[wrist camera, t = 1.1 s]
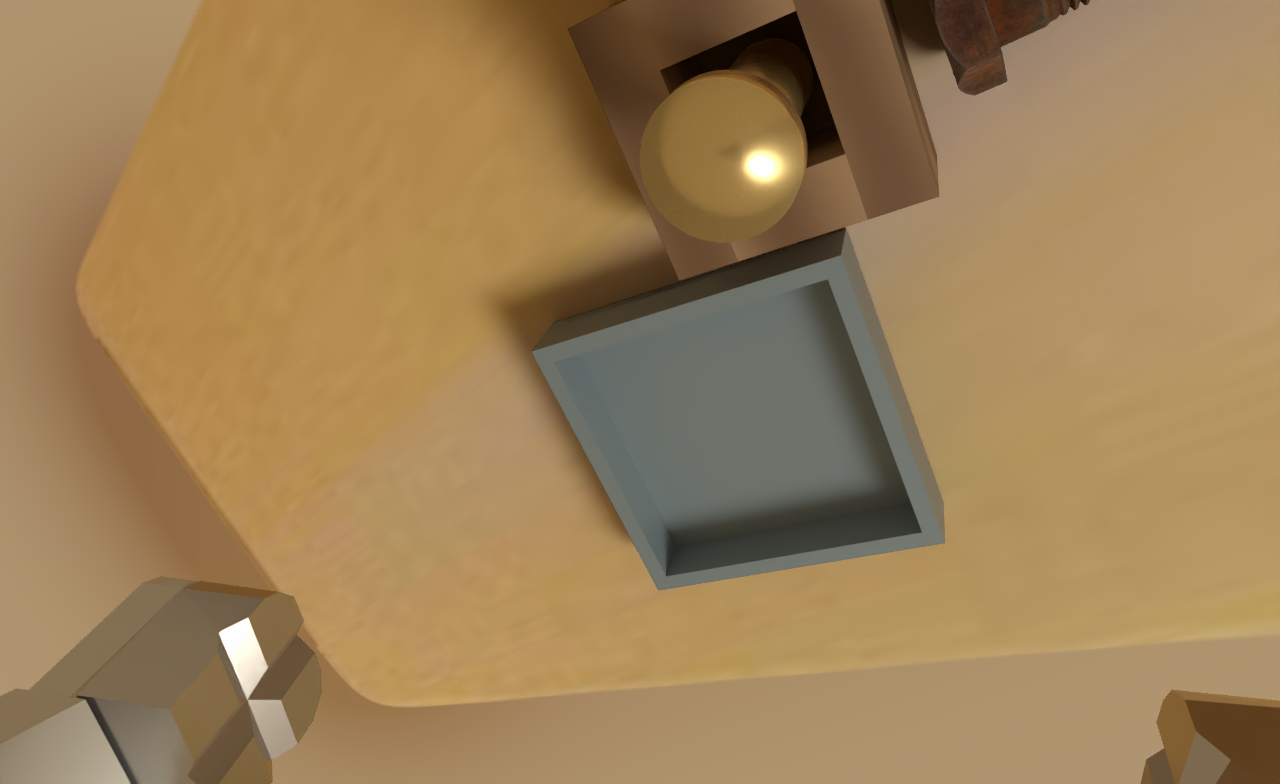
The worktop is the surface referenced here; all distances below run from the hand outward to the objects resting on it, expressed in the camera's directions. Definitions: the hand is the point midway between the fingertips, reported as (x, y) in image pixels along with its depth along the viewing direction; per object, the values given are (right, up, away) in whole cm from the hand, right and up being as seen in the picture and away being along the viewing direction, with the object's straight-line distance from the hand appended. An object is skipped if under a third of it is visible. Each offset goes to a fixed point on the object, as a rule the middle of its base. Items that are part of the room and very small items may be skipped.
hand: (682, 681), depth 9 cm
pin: (+5, +15, +27) cm, 31 cm away
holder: (+5, +15, +27) cm, 31 cm away
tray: (+5, +2, +35) cm, 35 cm away
